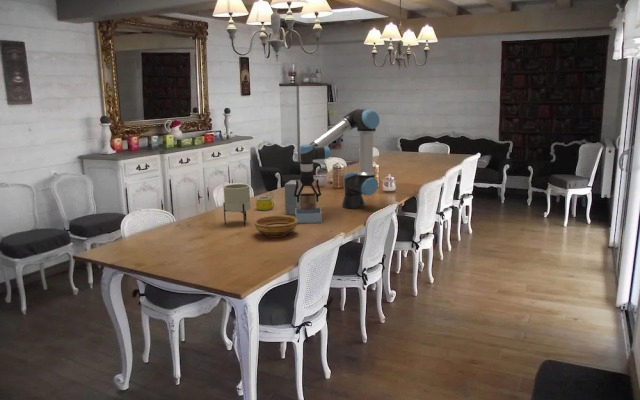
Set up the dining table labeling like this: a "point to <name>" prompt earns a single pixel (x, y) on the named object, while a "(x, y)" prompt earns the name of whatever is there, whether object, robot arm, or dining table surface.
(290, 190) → the hard drive box
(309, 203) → the walnut crate
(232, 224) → the dining table surface
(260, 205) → the mug
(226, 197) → the planter
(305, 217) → the grey crate
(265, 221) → the tan woven oval bowl
